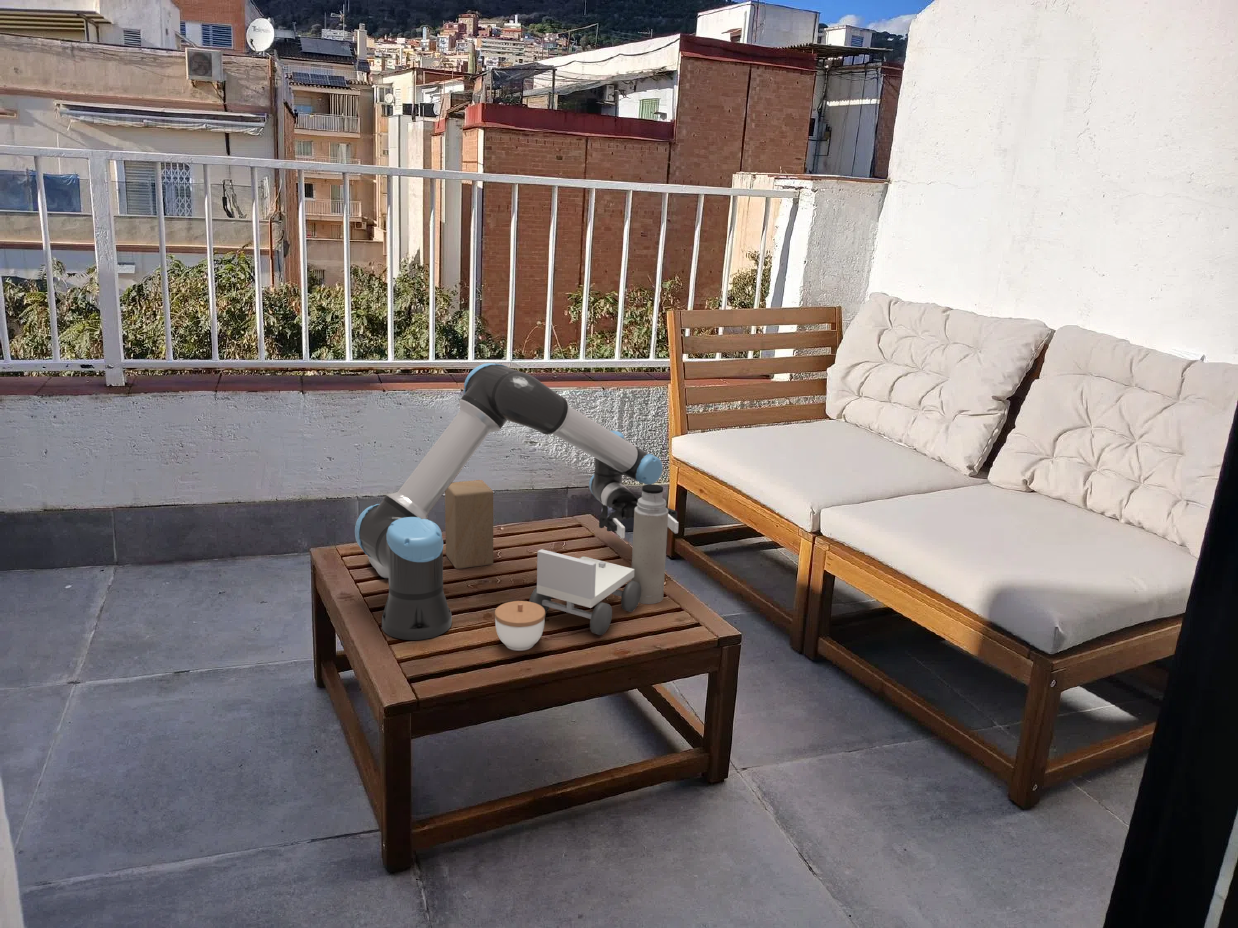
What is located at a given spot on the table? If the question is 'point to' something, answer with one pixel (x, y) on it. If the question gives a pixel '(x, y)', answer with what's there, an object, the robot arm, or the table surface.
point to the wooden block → (469, 523)
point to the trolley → (583, 586)
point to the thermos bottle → (650, 543)
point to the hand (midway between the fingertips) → (650, 530)
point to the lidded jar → (519, 624)
